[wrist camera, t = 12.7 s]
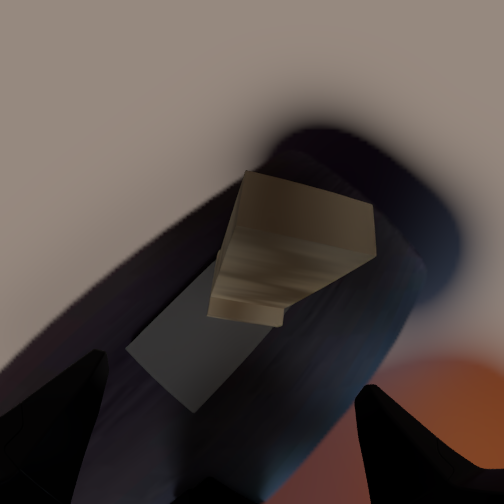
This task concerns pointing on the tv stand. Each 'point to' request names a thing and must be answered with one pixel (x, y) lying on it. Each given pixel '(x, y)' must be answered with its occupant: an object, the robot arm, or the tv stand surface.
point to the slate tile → (194, 345)
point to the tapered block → (286, 247)
